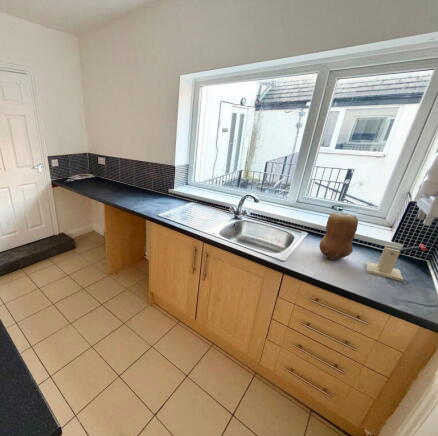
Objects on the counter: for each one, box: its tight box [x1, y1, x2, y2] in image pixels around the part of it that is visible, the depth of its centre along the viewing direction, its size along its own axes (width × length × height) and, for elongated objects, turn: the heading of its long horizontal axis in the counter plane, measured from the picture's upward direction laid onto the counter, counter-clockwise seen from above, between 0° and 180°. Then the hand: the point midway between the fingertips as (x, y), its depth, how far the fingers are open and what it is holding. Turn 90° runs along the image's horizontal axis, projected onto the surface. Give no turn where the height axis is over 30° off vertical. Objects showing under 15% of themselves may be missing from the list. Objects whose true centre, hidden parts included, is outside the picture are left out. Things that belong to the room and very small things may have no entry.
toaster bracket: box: [365, 244, 404, 282], centre depth 113 cm, size 12×10×13 cm
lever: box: [390, 243, 427, 253], centre depth 108 cm, size 12×5×2 cm, turn 53°
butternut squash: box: [319, 212, 359, 261], centre depth 122 cm, size 14×13×25 cm
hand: (423, 221), depth 102 cm, fingers open, 8 cm apart
